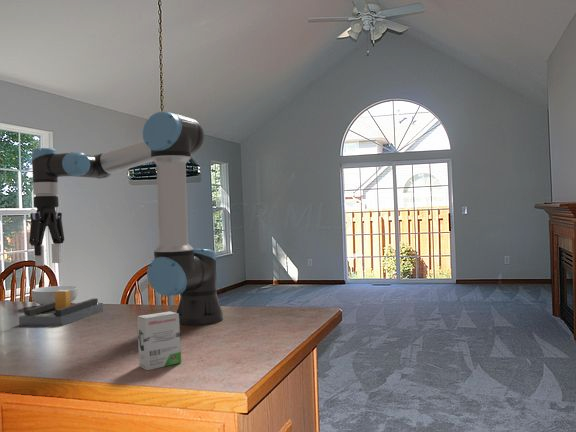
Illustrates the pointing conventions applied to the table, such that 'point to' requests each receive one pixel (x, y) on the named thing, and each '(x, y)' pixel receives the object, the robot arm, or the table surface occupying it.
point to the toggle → (62, 299)
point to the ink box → (159, 340)
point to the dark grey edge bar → (39, 309)
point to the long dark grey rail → (76, 307)
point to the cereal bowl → (51, 293)
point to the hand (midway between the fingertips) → (48, 264)
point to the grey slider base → (51, 319)
